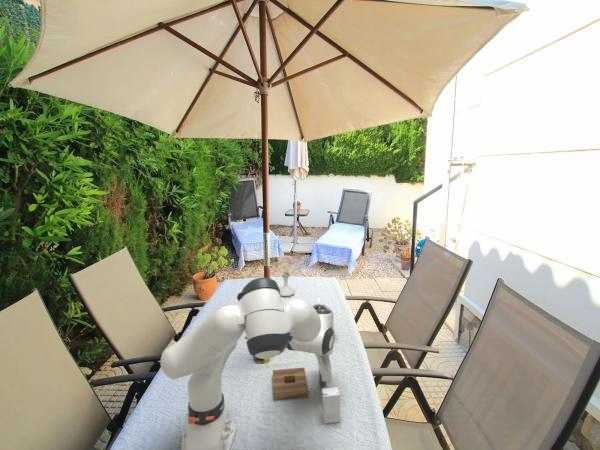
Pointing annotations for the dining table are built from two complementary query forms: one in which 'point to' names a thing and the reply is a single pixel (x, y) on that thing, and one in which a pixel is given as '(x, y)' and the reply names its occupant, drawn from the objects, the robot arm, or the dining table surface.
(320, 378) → the peg
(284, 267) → the flower in vase
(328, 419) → the skincare box
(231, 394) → the dining table surface
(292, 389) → the socket block
